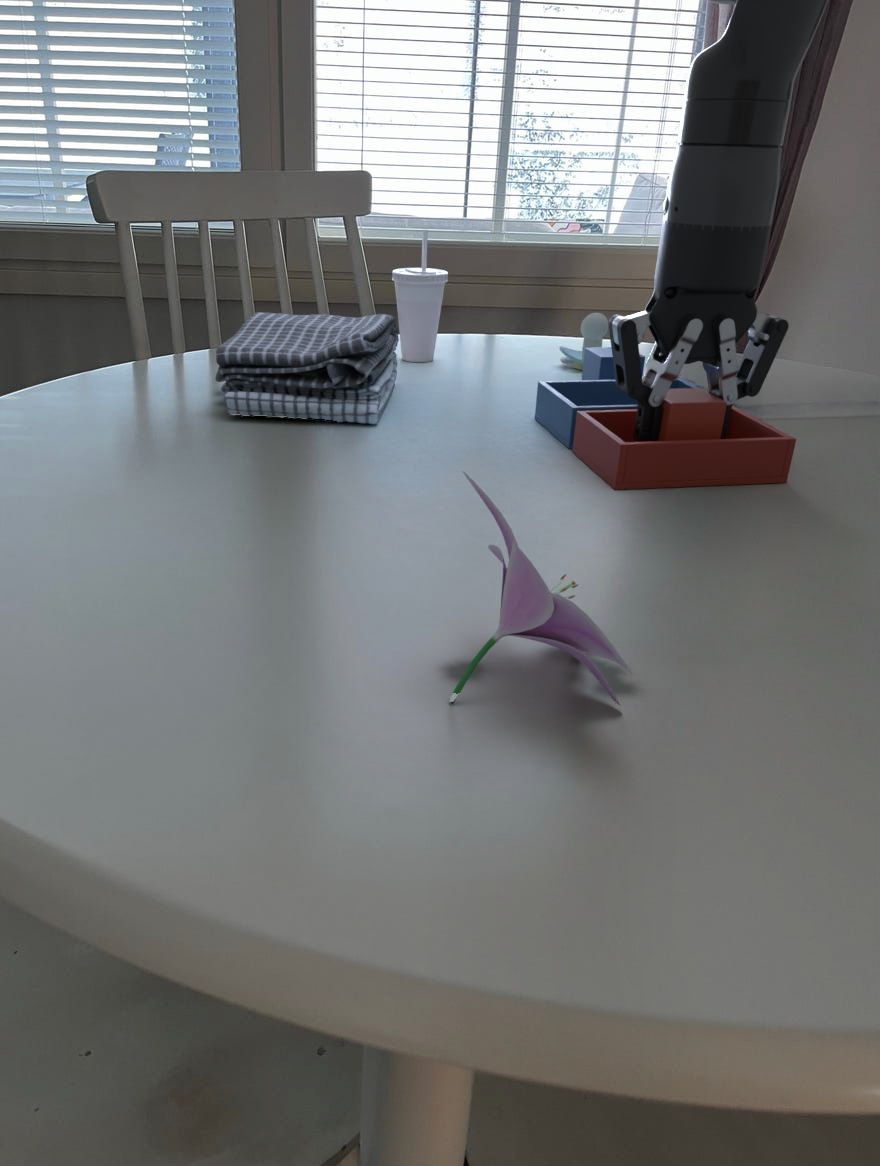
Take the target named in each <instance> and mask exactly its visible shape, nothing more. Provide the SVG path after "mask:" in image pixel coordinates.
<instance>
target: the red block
mask: <svg viewBox="0 0 880 1166" xmlns="http://www.w3.org/2000/svg"><path fill="white" fill-rule="evenodd" d="M660 406H662V407H663V408H664V409H663V415H662V422H661V428H660V434H659V440H658V441H680V440H710V439H720V437H721V432H722V426H723V421H724V416H725V411H726V406H727V402H725V401H723V400H722V399H720V398H718V397H716V396H714V395H712V394H710V393H709V391H706V390H704V389H703V390H702V388H701V387H699V388H679V389H669V390H668V392H667V394H666V396H665V399H664V401H663V403H662V404H661V405H660Z"/></svg>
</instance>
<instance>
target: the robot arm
mask: <svg viewBox="0 0 880 1166" xmlns="http://www.w3.org/2000/svg"><path fill="white" fill-rule="evenodd" d="M707 1H708V2H710V3H714V4H718V5H734V7H733V10H732V14H731V17H730V19H729V22H728V25H727V27H726V29H725V31H724V33H723V35H722V36H721V38H720V39H718V40H717V41H716V42H714V43H713V44H711V45H710V46H708V47H706V48H705V49H703V50H702V51H700V52H699V53H698V54H697V55H696V56H695V58H694V59H693V61H692V62H691V64H690V67H689V70H688V74H687V78H686V82H685V89H684V94H683V95H684V96H683V102H682V108H681V114H680V120H679V121H680V122H679V123H680V124H679V129H678V137H677V145H676V149H675V154H674V157H673V161H672V165H671V169H670V172H669V177H668V179H667V187H666V193H665V198H664V200H663V204H662V212H663V214H662V221H661V226H660V227H661V228H660V234H659V235H660V236H659V241H658V243H659V244H658V249H657V256H656V263H655V270H654V277H653V293H652V295H651V297H650V299H649V301H648V302H647V304H646V306H645V308H644V310H643V311H640V312H639V311H638V312H636V313H633V314H630V315H626V316H623V315H622V314H618V313H617V314H613V315H612V316H611V317H610V318H609V320H608V330H609V331H608V333H609V339H610V347H611V348H612V356H613V364H614V371H615V379H616V387H617V389H618V390H619V391H621V392H622V393H624V394H626V395H627V396H629V397H630V398H632V399H636V400H637V404H638V405H637V412H636V419H635V426H634V427H635V428H634V433H633V436H634V440H635V441H636V442H649V441H658V440H659V434H660V428H661V422H662V415H663V409H664V408H663V407H662V406H660V405H661V404H662V403H663V401H664V399H665V396H666V394H667V392H668V390H669V388H670V386H671V383H672V382H673V380H675V379H677V378H679V375H680V374H681V372H682V369H683V367H684V366H685V365H690V364H693V363H697V362H701V363H702V367H703V370H704V371H705V373H706V381H707V389H708V393H710V394H712V395H714V396H716V397H718V398H720V399H722V400H723V401H725V402H727V406H726V411H725V416H724V421H723V426H722V432H721V437H720V439H725V438H726V434H727V429H728V424H729V419H730V414H731V408H732V407H733V405H734V404H736V402H737V401H738V400H741V399H742V398H745V397H750V398H753V397H756V396H758V394H759V393H760V391H761V389H762V387H763V385H764V383H765V380H766V378H767V377H768V374H769V372H770V370H771V368H772V365H773V363H774V361H775V359H776V356H777V354H778V353H779V349H780V347H781V345H782V344H783V341H784V339H785V336H786V334H787V333H788V331H789V326H790V325H789V321H788V320H786V319H784V318H781V317H780V316H776V315H773V314H769V313H764V314H763V313H760V312H758V307H757V304H756V299H755V298H756V297H755V296H756V295H755V294H756V291H757V289H758V287H759V286H760V284H761V279H762V274H763V268H764V264H765V263H764V262H765V258H766V253H767V248H768V242H769V237H770V233H771V227H772V222H773V217H774V213H775V212H774V211H775V207H776V201H777V195H778V192H779V184H780V176H781V175H780V174H781V159H782V150H783V148H782V146H783V145H784V140H785V135H786V130H787V126H788V120H789V115H790V110H791V105H792V103H791V102H792V97H793V92H794V85H795V80H796V78H797V75H798V72H799V70H800V68H801V66H802V63H803V62H804V60H805V57H806V55H807V54H808V53H807V52H808V51H809V49H810V46H811V44H812V42H813V40H814V37H815V35H816V32H817V29H818V27H819V24H820V22H821V20H822V17H823V15H824V13H825V10H826V8H827V5H828V3H829V0H707ZM646 329H649V331H650V333H651V335H652V337H653V339H654V341H655V342H654V344H653V346H652V349H651V351H650V353H649V356H648V358H647V359H646V362H645V367H646V368H645V372H644V373H643V377H642V373H641V364H640V355H639V353H640V344H641V343H642V342H643V341H644V338H645V332H646ZM746 333H747V334H748V335H747V337H748V342H747V344H746V347H745V348H744V351H743V353H742V355H741V358H740V360H739V363H738V356H737V346H736V344H737V343H738V342H739V341H740V340H741V338H743V336H744V335H745V334H746Z"/></svg>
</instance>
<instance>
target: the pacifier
mask: <svg viewBox="0 0 880 1166" xmlns="http://www.w3.org/2000/svg"><path fill="white" fill-rule="evenodd" d="M608 330H609V320H608V318H607V317H606V316H605V315H604V314H603V313H601V312H592V313H590V314H587V316H585V317H584V319H583V320H582V322H581V324H580V332H581V335H582V337H583V341H582V342H583V343H582V350H577V349H572V348H568V347H565V346H559V351H560V352H561V353H562V354H563V355H564V356H562V357H560V358H559V361H560V362H561V363H562V364H564V365H568V366H572V367H573V368H574V369H577V370H579V371H583V362H584V353H585V348H595V347H603V340H604V337H605V336H606V334H607V333H608Z"/></svg>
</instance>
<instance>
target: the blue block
mask: <svg viewBox="0 0 880 1166" xmlns="http://www.w3.org/2000/svg"><path fill="white" fill-rule="evenodd" d="M639 355H640V364H641V373H642V378H643V376H644V369H645V364H646V362H645V361H646V356H645V355H643V354H641V353H640V352H639ZM581 380H616V379H615V371H614V364H613V356H612V348H611V346H608V347H607V346H602V347H595V348H585V353H584V362H583V370H581Z"/></svg>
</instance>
